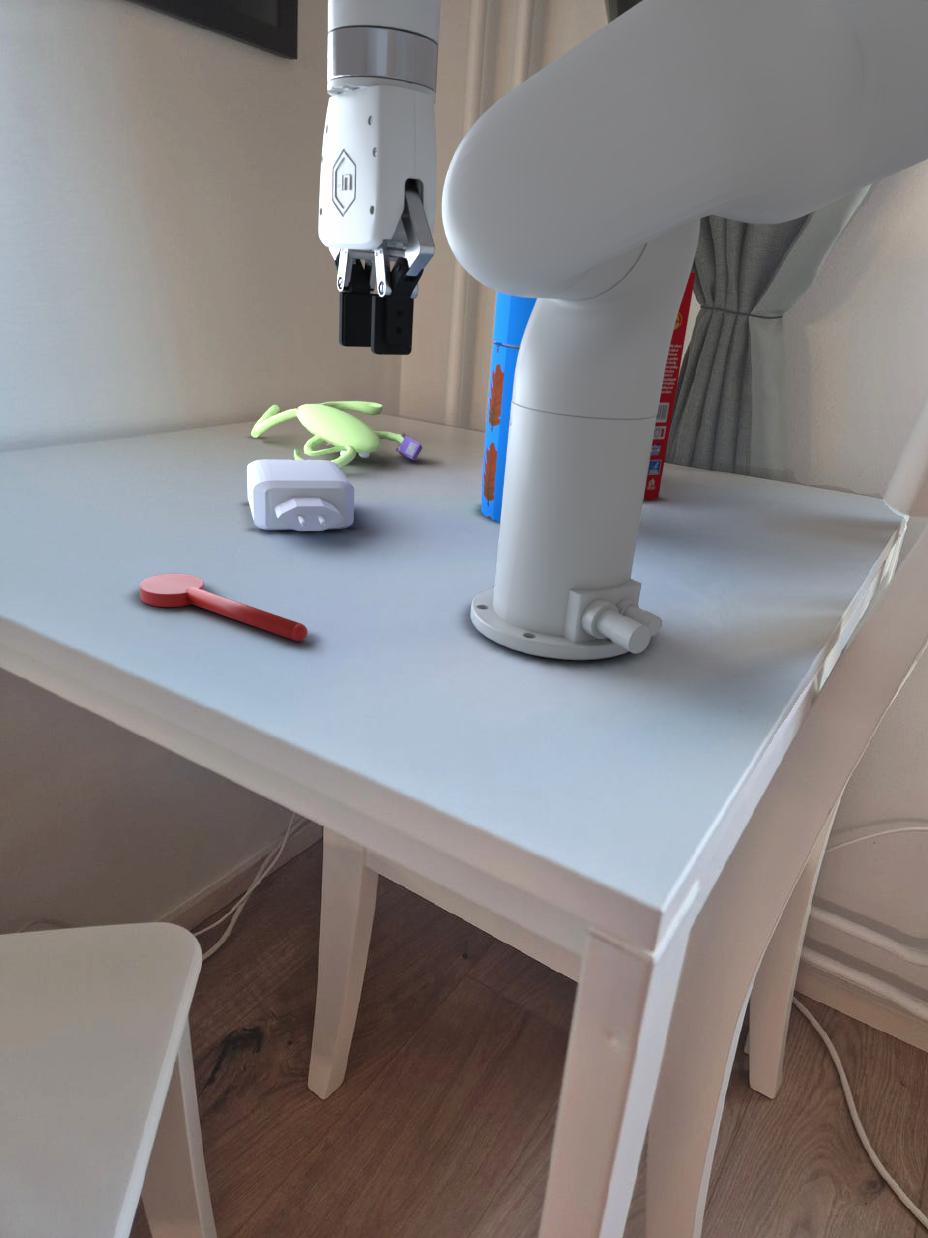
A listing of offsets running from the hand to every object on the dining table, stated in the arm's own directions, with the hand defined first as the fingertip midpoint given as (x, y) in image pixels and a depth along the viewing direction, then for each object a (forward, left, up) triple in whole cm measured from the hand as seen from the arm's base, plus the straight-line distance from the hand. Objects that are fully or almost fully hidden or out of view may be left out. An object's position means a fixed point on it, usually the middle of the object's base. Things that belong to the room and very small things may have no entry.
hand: (374, 347), depth 64 cm
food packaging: (+15, -41, -18) cm, 47 cm away
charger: (+12, +1, -18) cm, 21 cm away
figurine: (+42, -17, -18) cm, 49 cm away
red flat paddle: (-6, +15, -17) cm, 24 cm away
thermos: (+7, -23, -18) cm, 30 cm away
